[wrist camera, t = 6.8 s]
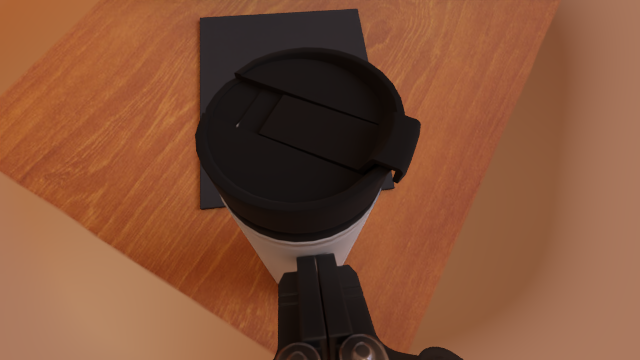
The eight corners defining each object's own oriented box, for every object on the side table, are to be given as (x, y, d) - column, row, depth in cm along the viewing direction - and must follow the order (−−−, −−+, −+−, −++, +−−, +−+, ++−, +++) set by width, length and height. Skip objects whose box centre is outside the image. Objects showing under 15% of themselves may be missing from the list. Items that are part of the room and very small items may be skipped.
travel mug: (327, 311, 24) (379, 258, 6) (255, 276, 25) (129, 146, 8) (355, 242, 27) (447, 67, 9) (289, 212, 28) (254, 4, 10)
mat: (393, 188, 29) (394, 187, 29) (201, 209, 28) (200, 208, 27) (356, 11, 36) (357, 8, 35) (200, 20, 34) (199, 17, 34)
